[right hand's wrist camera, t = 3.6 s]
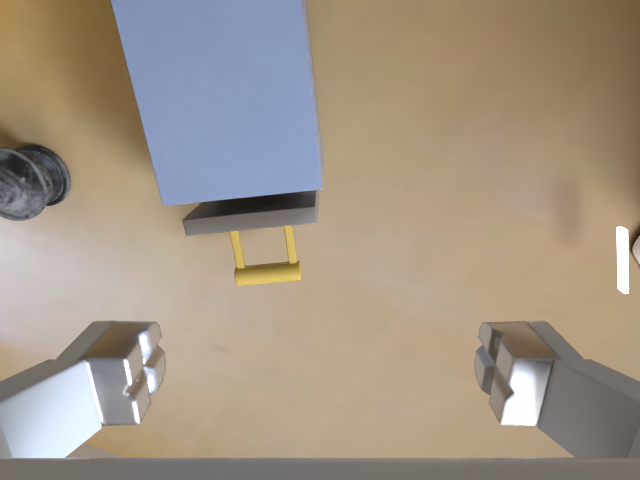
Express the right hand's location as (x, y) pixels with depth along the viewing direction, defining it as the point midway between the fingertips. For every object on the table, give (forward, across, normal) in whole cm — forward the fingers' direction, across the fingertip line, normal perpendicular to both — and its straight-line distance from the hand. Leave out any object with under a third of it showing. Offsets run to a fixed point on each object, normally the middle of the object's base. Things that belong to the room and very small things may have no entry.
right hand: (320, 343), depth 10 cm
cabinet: (+26, +6, -10) cm, 28 cm away
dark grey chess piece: (+26, +24, +1) cm, 36 cm away
